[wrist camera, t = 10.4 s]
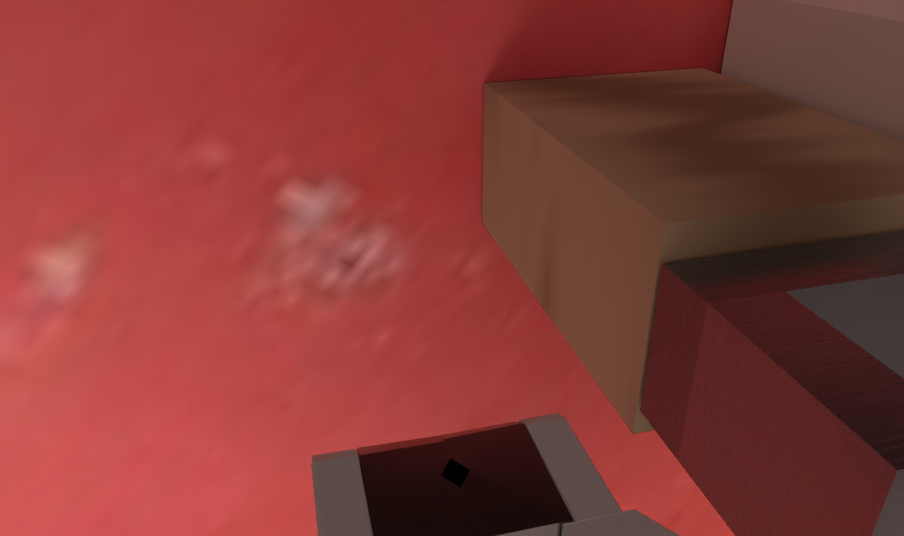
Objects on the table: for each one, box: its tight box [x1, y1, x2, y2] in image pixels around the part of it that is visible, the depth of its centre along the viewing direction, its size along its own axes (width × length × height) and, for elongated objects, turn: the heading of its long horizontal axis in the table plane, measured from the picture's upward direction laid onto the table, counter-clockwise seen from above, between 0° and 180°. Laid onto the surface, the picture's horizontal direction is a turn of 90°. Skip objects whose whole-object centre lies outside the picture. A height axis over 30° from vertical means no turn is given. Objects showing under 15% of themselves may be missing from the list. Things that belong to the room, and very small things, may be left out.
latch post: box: [482, 68, 904, 434], centre depth 16 cm, size 6×4×9 cm, turn 90°
